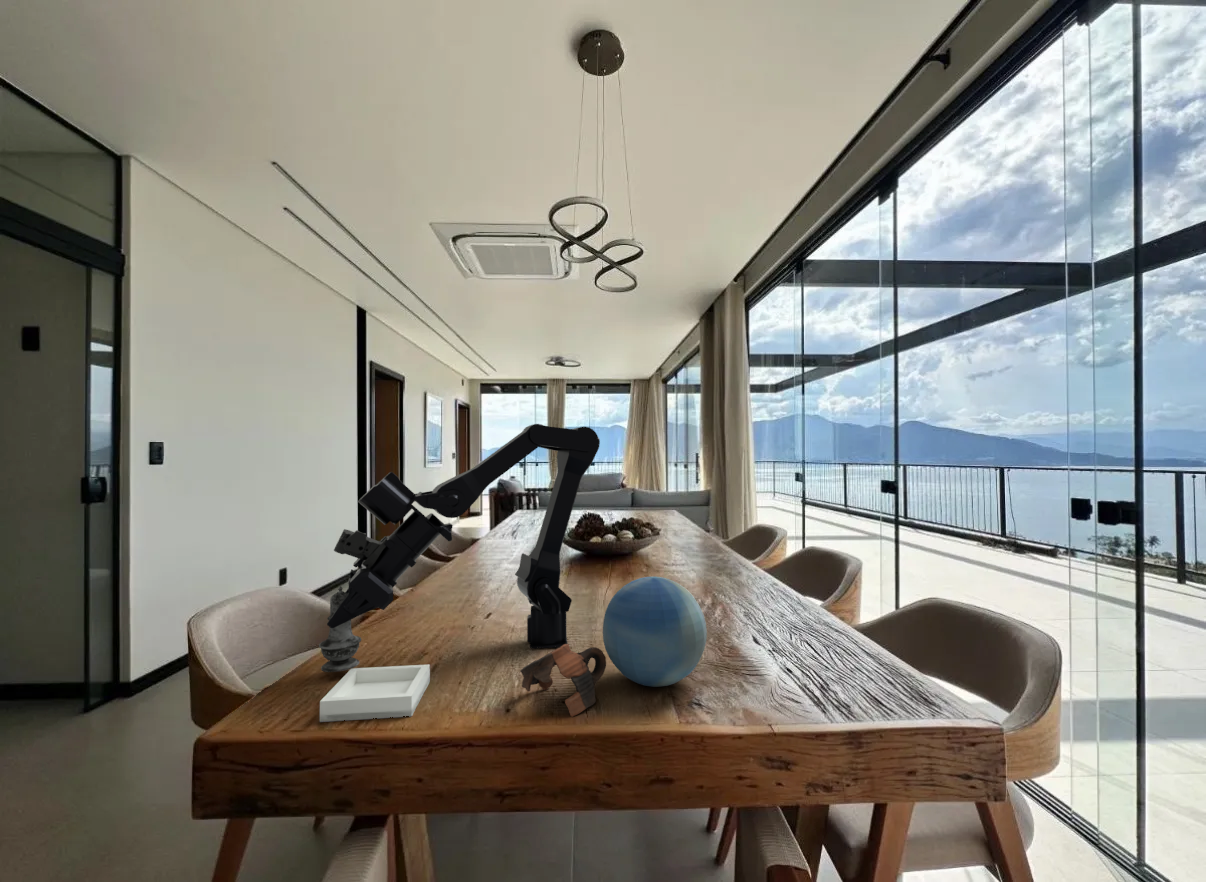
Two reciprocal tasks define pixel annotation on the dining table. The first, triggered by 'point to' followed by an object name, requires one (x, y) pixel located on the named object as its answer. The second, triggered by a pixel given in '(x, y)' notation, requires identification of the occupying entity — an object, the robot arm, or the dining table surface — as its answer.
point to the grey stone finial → (339, 641)
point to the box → (376, 693)
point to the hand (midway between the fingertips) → (330, 622)
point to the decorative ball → (654, 631)
